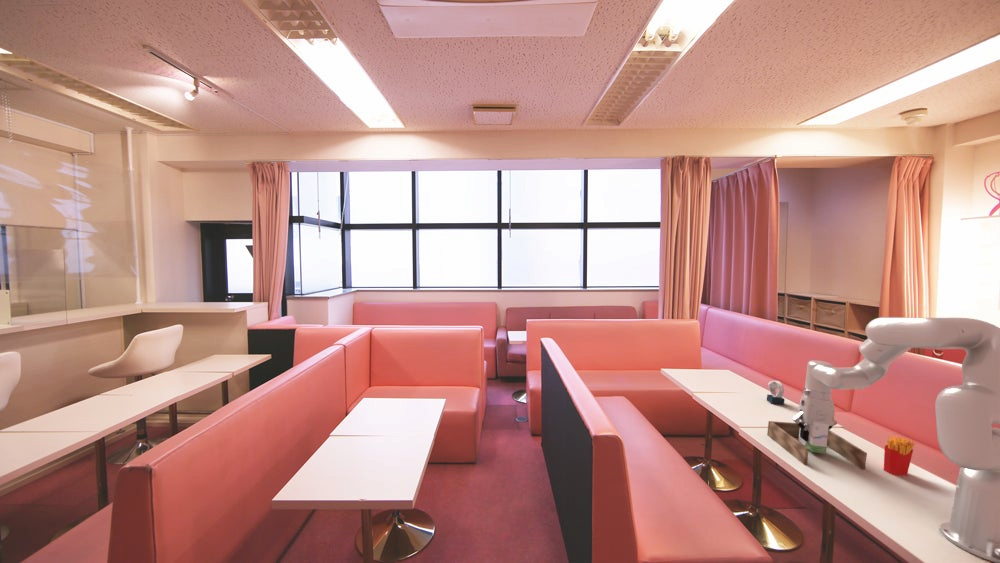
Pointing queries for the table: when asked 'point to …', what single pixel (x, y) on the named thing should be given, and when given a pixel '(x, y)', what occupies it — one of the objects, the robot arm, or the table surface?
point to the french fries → (898, 455)
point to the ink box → (816, 437)
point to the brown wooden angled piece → (786, 439)
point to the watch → (775, 397)
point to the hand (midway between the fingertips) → (812, 439)
